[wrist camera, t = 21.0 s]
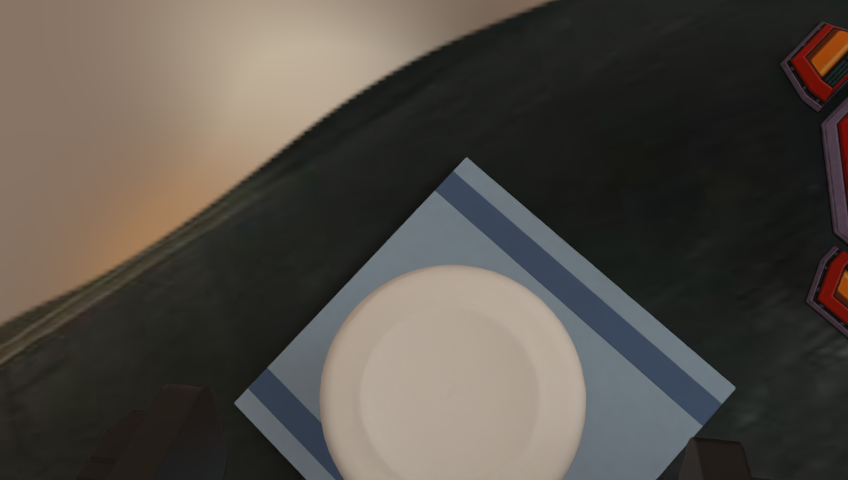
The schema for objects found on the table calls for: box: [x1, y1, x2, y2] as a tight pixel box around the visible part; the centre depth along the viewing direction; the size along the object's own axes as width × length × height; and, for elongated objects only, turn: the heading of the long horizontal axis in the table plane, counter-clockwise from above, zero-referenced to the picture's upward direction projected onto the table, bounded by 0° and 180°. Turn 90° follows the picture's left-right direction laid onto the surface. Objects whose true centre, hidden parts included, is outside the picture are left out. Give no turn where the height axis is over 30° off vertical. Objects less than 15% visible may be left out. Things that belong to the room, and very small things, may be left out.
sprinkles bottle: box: [319, 264, 586, 480], centre depth 19 cm, size 5×5×14 cm
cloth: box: [234, 158, 735, 480], centre depth 26 cm, size 12×12×1 cm
